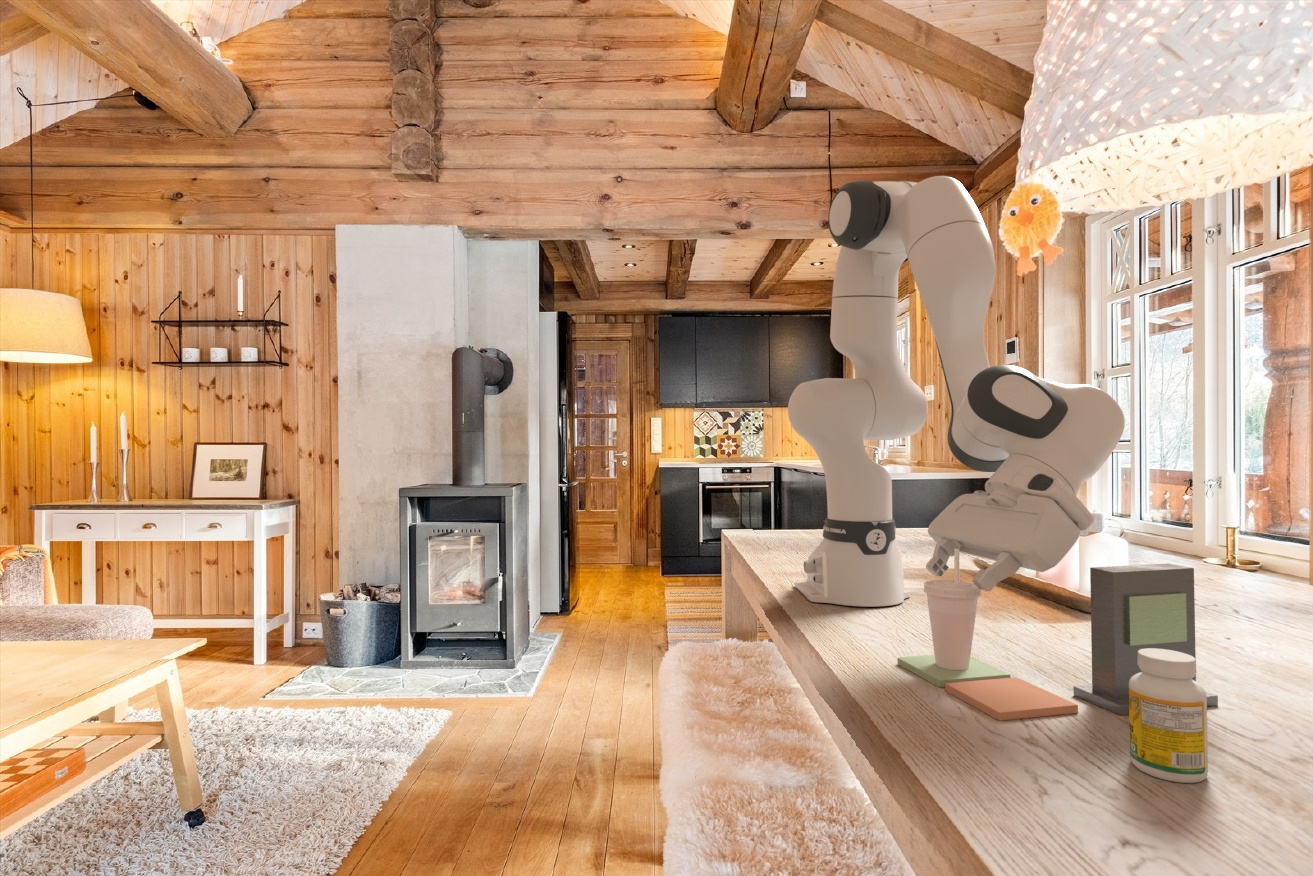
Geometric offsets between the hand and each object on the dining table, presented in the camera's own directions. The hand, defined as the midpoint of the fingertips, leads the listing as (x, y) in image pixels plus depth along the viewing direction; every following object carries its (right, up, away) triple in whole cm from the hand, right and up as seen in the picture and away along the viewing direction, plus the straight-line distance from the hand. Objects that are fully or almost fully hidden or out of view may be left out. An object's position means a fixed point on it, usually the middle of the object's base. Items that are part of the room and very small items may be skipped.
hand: (954, 579), depth 87 cm
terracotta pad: (+2, -11, -10) cm, 15 cm away
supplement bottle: (+7, -11, -26) cm, 29 cm away
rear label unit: (+16, -11, -10) cm, 22 cm away
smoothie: (0, -10, 0) cm, 10 cm away
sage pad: (0, -11, 0) cm, 11 cm away
